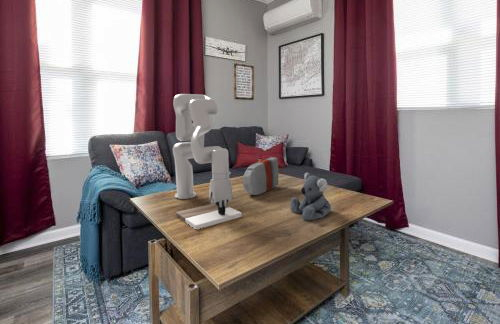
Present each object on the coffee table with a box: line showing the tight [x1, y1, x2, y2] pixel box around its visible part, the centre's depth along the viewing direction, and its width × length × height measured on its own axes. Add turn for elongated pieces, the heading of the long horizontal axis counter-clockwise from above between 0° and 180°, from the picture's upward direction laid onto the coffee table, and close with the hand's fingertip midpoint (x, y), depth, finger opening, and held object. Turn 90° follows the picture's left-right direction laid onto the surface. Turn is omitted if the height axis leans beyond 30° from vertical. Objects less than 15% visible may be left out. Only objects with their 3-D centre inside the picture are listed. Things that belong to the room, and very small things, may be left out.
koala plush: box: [289, 171, 332, 221], centre depth 138 cm, size 17×18×20 cm
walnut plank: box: [175, 203, 229, 223], centre depth 141 cm, size 10×24×2 cm, turn 128°
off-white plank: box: [184, 206, 243, 230], centre depth 133 cm, size 10×24×2 cm, turn 128°
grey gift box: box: [242, 156, 279, 196], centre depth 175 cm, size 19×6×30 cm
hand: (221, 214), depth 134 cm, fingers closed
